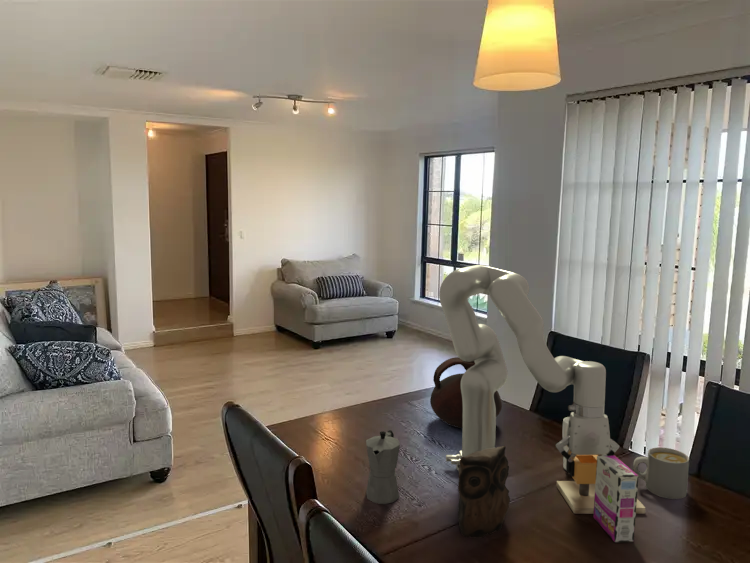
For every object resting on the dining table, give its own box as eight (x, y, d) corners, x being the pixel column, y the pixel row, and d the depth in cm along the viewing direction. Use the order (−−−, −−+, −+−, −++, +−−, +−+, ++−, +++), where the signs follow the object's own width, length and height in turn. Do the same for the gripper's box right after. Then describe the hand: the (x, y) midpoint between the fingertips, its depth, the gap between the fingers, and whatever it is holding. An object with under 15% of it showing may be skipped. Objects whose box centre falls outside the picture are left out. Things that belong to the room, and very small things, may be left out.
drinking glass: (586, 475, 163) (589, 426, 161) (562, 473, 164) (564, 424, 162) (582, 465, 169) (585, 417, 167) (559, 463, 171) (561, 415, 169)
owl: (510, 519, 141) (512, 442, 138) (502, 547, 129) (504, 464, 126) (460, 509, 145) (461, 434, 142) (447, 535, 134) (449, 455, 131)
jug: (431, 408, 216) (432, 344, 213) (498, 411, 213) (500, 347, 210) (428, 434, 192) (429, 363, 188) (504, 438, 188) (506, 366, 185)
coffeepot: (392, 511, 144) (393, 443, 142) (358, 505, 147) (357, 439, 145) (407, 482, 159) (408, 421, 156) (375, 478, 162) (375, 417, 159)
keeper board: (574, 513, 143) (575, 492, 142) (556, 486, 157) (557, 466, 156) (645, 513, 143) (646, 492, 142) (621, 486, 157) (622, 466, 156)
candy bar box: (635, 542, 131) (640, 475, 129) (614, 543, 130) (618, 476, 128) (611, 516, 142) (615, 454, 140) (592, 517, 141) (595, 454, 139)
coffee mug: (687, 486, 156) (690, 452, 155) (684, 502, 148) (687, 466, 147) (635, 474, 164) (637, 441, 162) (629, 489, 155) (632, 454, 154)
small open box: (577, 484, 145) (577, 465, 145) (567, 470, 152) (568, 453, 152) (606, 483, 145) (606, 465, 145) (594, 470, 152) (595, 452, 152)
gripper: (559, 415, 143) (557, 481, 145) (628, 414, 143) (625, 480, 145) (550, 405, 150) (548, 468, 153) (616, 404, 150) (613, 467, 153)
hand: (586, 473), depth 149 cm, fingers closed on small open box, 7 cm apart
